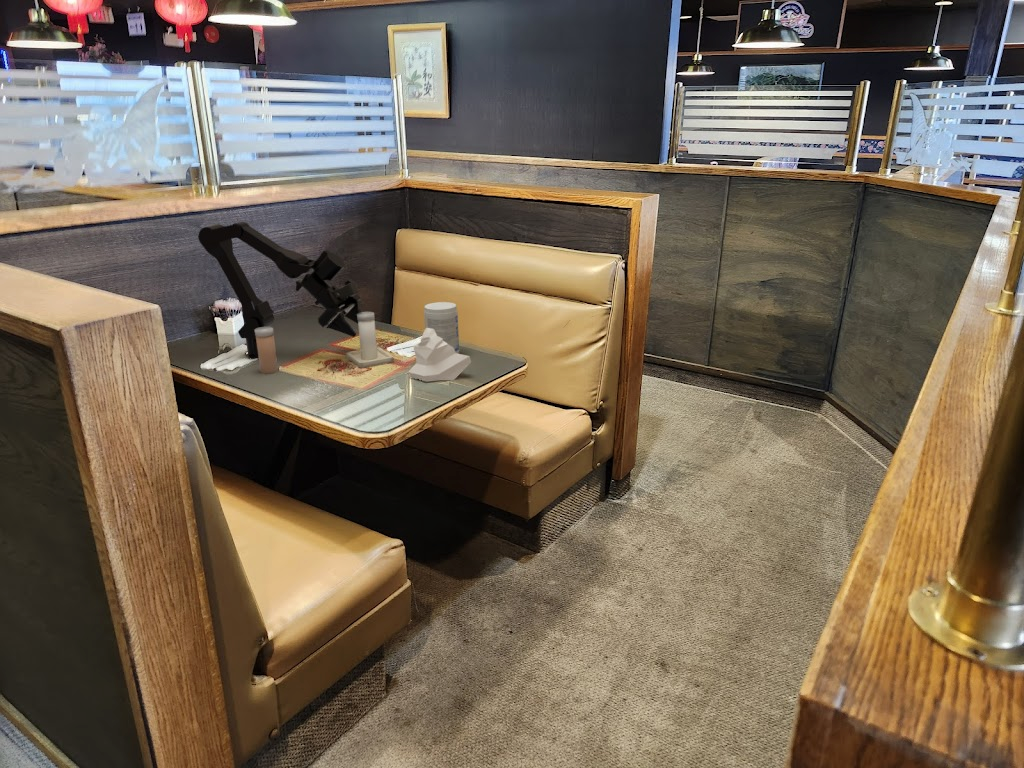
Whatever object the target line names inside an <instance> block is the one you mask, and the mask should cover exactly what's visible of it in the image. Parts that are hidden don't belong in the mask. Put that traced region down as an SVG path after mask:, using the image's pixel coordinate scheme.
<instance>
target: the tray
mask: <svg viewBox="0 0 1024 768" xmlns="http://www.w3.org/2000/svg"><path fill="white" fill-rule="evenodd" d="M377 355H378V358H376V359H374V360H363V359H361V349H358V350H357V349H356V350H353V351H347V352H345V358H346V359H348V360H349V361H350V362H352V363H353V364H354V365H356V366H357V367H358V368H359V369H365V368H370V366H371V367H376V366H380V364H381V365H386V364H385V363H387V364H392V363H395V357H394V356H393V355H391V354H390V353H388V352H387V351H385V350H384V349H382V348H381V347H380V346H377ZM391 362H392V363H391ZM375 365H376V366H375Z"/></svg>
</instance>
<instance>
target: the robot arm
mask: <svg viewBox="0 0 1024 768" xmlns="http://www.w3.org/2000/svg"><path fill="white" fill-rule="evenodd" d="M197 237H198V238H197V239H198V242H199V243H200V245H201V246H202V247H203V248H204V250H205V251H206V252H207V253H208V254H210V255H211V256H212V257H213V258H215V260H216V261H217V263H218V264H219V266H220V268H221V270H222V272H223V274H224V276H225V277H226V278H227V280H228V283H229V284H230V287H231V288H232V290H233V292H234V293H235V296H236V297H237V300H238V301H239V303H240V305H241V316H242V319H243V322H244V324H243V325H242V326H241V328H240V329H239V330H238V331H237V332H238V334H239V336H240V337H239V338H240V339H245V342H246V344H245V345H246V350H247V351H248V354H247V355H246V357H247V356H248V357H249V358H251V359H256V358H259V356H258V349H257V341H256V336H255V329H256V328H259V327H272V325H273V324H274V322H275V316H274V315H275V314H274V313H275V311H274V310H273V309H272V307H271V305H270V302H269V301H268V300H265V301H262V300H261V299H260V298H259V297H258V296H257V295H256V293H255V291H254V289H253V287H252V285H251V283H250V282H249V280H248V278H247V275H246V274H245V272H244V271H243V269H242V266H241V265H240V263H239V261H238V260H237V257H236V256H235V254H234V250H233V249H234V248H233V246H234V245H233V239H238V240H239V241H241V242H243V243H245V244H246V245H248V246H249V247H250V248H252V249H254V250H255V251H257V252H259V254H262V255H263V256H265V257H266V258H268V260H270V261H272V262H273V263H274V264H275V265H276V267H277V269H278V270H279V271H281V272H282V273H283V275H285V276H286V277H287V278H289V279H298V278H299V277H302V276H303V278H302V279H298V280H296V281H295V291H296V292H299V291H301V290H305V291H306V292H307V293H308V294H309V295H311V297H312V298H313V299H315V301H314V304H315V305H316V306H319V305H320V306H321V307H322V308H323V309H324V311H323V312H322V313H321V314H320V316H319V317H317V323H318V324H319V326H321V327H322V328H323V329H324V328H325V327H326V329H330V330H334V331H336V332H340V333H343V334H344V335H348V336H350V337H353V338H354V337H356V336H357V333H356V331H355V330H354V329H353V327H351V325H350V324H349V323H348V321H347V320H346V319H345V318H347V319H349V320H350V321H352V322H354V323H356V324H357V325H358V320H357V314H358V313H360V312H362V310H361V303H362V301H361V299H362V298H361V296H359V295H358V294H357V293H359V289H358V286H359V284H358V283H357V282H356V281H355V280H353V279H352V278H350V279H348V280H345V281H344V285H343V286H340V287H339V288H338V287H337V286H336V285H332V286H331V284H329V283H328V282H327V281H333V280H334V279H335V278H336V277H337V276H338V274H339V273H340V272H341V271H342V270H343V269H344V267H346V264H345V262H344V260H343V259H342V257H341V256H339V255H337V254H335V253H333V252H330V250H328V249H325V250H323V251H322V252H321V254H320V255H319V257H318V258H317V259H316V260H315V259H310V258H308V257H307V256H305V255H304V254H301V253H299V252H297V251H294V250H291V249H287V248H285V247H283V246H281V245H279V244H278V243H277V242H275V241H274V240H272V239H270V238H268V237H267V236H266V235H264V234H262V233H261V232H259V230H257V229H255V228H253V227H252V226H250V225H249V223H248V222H245V221H239V222H235V223H232V224H230V225H225V226H224V225H223V224H218V223H217V224H213V225H210V226H205V227H202V228H201V229H200V230H199V232H198V235H197ZM309 272H311V273H309ZM247 351H246V352H247ZM248 357H247V358H248ZM249 358H248V359H249Z"/></svg>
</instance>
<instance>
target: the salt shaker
mask: <svg viewBox="0 0 1024 768" xmlns="http://www.w3.org/2000/svg"><path fill="white" fill-rule="evenodd" d="M375 319H376V318H375V312H373V311H361V312H360V313H358V314H357V320H358V324H357V325H358V336H359V346H360V347H359V348H360V350H361V359H363V360H374V359H376V358H378V355H377V347H378V345H377V334H376V321H375Z"/></svg>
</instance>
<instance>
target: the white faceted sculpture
mask: <svg viewBox="0 0 1024 768" xmlns="http://www.w3.org/2000/svg"><path fill="white" fill-rule="evenodd" d="M419 340H420V342H418V343H417V344H415V345H414V346H413V351H414V354H415V358H416V359H415V360H416V361H415V363H414V365H413V366H412V367H411V368H410V370H409V371H408V376H409V378H410V377H412V378H411V379H414V378H415V380H417V379H419V380H418V381H421V380H422V381H421V382H425V383H426V382H427V383H428V382H436V381H454V380H456V379H457V377H458V376H459V375H460V374H461V373H462V372H464V370H465V369H466V368H467V367H468V366H469V365H470V364H471V363H472V360H471V357H470V355H466V354H462V353H456V352H455V350H454V348H453V347H452V346H450V345H449V344H447V343H446V342H444V341H443V339H442V338H441V337H439V336H437V335H436V332H435V330H434V329H431V328H426V329H424V330H423V333H422V336H420V337H419Z"/></svg>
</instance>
